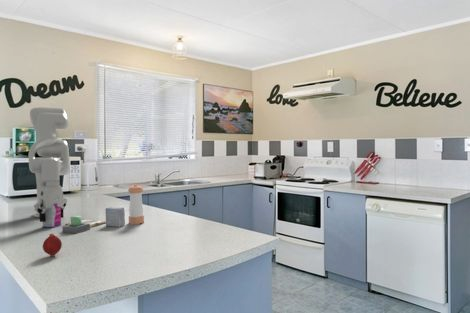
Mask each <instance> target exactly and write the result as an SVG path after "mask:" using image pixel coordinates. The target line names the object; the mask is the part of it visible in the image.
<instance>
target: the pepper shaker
mask: <svg viewBox="0 0 470 313" xmlns="http://www.w3.org/2000/svg"><path fill="white" fill-rule="evenodd" d="M127 191H128V193H129V208H128V210H129V211H128V213H129V214H128V215H129V216H128V224H129V225H141V224H140V223H142V224H145V215H144V207H143V199H142V198H143V197H142V194H143V191H144V188H143V187H142V186H141V185H138V184H135V183H134V185H132V186H131V185H130V187H129V188H128V190H127Z"/></svg>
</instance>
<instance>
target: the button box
mask: <svg viewBox="0 0 470 313" xmlns="http://www.w3.org/2000/svg"><path fill="white" fill-rule="evenodd" d="M61 226H62V227H61V229H62V233H69V234H78V233H82V232H85V231H89V230H90V229H91V228H90V224H86V223H82V225H80V226H77V227H74V226H71V224H69V225H61Z"/></svg>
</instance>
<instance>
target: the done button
mask: <svg viewBox="0 0 470 313" xmlns="http://www.w3.org/2000/svg"><path fill="white" fill-rule="evenodd" d="M81 220H82V215H73V216H70V223H71V226H74V227H77V226H80V225H82V223H81Z"/></svg>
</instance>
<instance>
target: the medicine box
mask: <svg viewBox="0 0 470 313" xmlns="http://www.w3.org/2000/svg"><path fill="white" fill-rule="evenodd" d="M104 211H105V222H106V223H105V226H106V227H119V228H121V227H123V226H125V224H126V220H125V217H126V215H125V212H126V211H125V207H120V206H108V207H105V210H104ZM120 226H121V227H120Z"/></svg>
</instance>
